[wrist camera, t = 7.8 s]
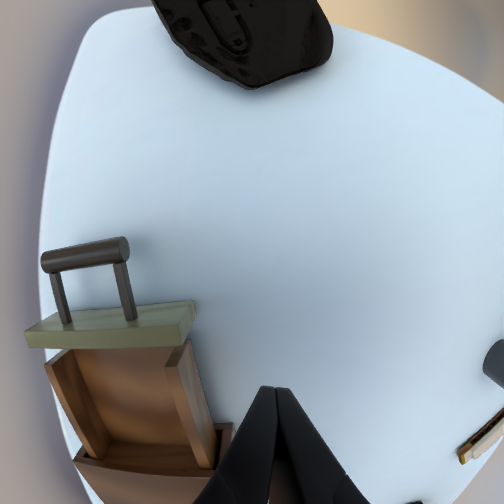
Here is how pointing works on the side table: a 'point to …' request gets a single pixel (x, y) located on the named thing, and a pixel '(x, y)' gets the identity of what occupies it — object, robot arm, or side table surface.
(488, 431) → the harmonica
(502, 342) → the cylinder
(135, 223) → the side table surface
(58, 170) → the side table surface
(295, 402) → the robot arm
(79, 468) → the cabinet
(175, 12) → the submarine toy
